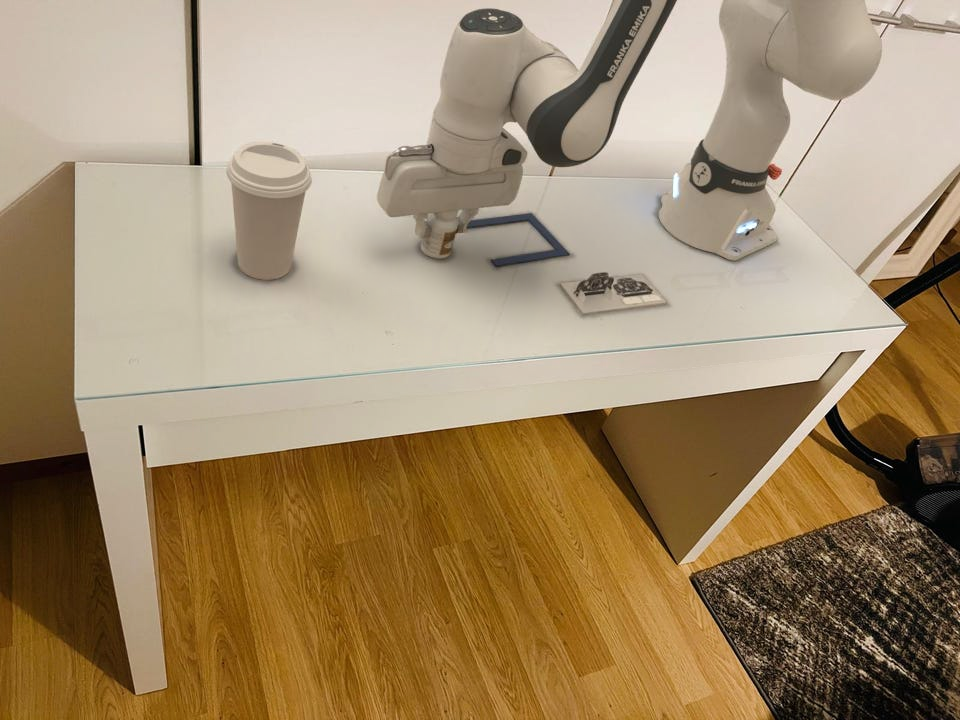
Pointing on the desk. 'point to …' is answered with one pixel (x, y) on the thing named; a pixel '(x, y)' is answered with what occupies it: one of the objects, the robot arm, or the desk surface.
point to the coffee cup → (267, 206)
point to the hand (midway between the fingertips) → (440, 233)
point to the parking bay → (523, 258)
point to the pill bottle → (440, 234)
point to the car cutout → (611, 293)
